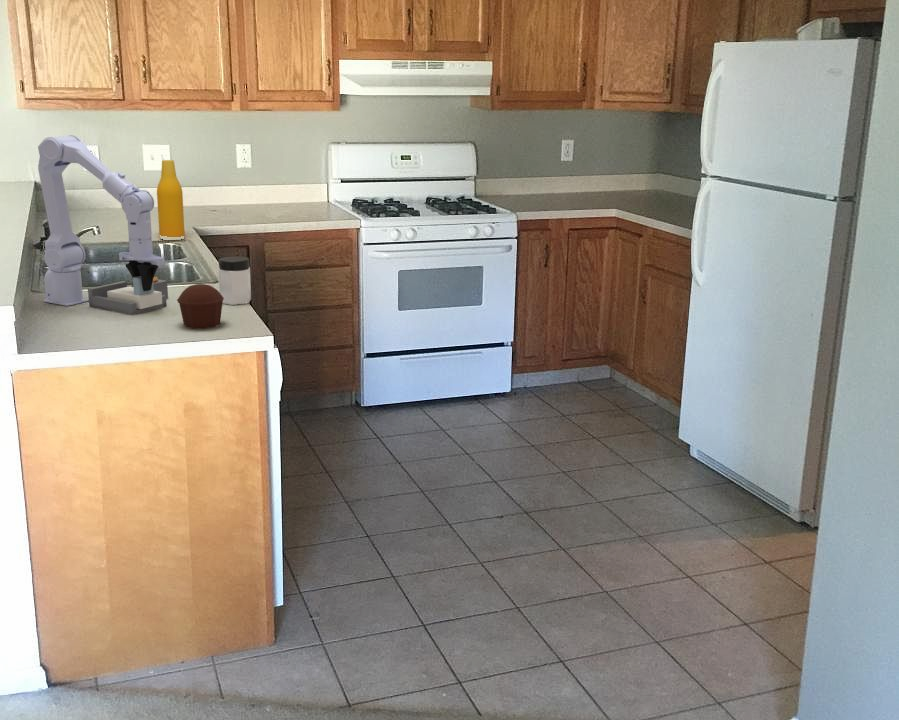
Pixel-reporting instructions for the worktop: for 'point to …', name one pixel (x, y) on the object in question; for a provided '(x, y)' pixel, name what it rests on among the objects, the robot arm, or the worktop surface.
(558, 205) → the worktop surface
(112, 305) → the housing
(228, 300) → the jar
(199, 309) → the muffin
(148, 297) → the white blue stepped block
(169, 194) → the beer bottle
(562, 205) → the worktop surface
